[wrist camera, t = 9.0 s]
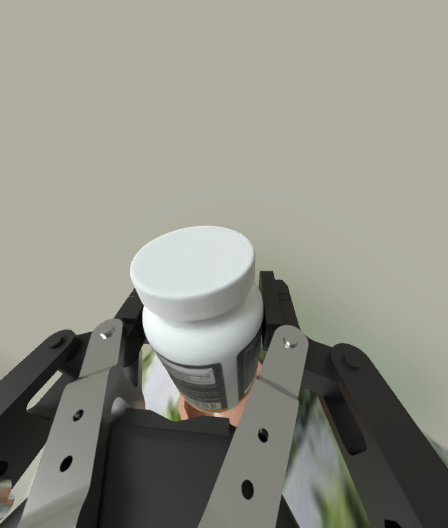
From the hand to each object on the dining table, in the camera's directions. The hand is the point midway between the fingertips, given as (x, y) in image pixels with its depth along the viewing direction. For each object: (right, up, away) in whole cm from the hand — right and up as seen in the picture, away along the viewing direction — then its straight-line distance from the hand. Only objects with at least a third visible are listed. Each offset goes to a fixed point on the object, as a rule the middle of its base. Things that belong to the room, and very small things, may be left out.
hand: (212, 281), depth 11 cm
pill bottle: (0, -6, +2) cm, 7 cm away
